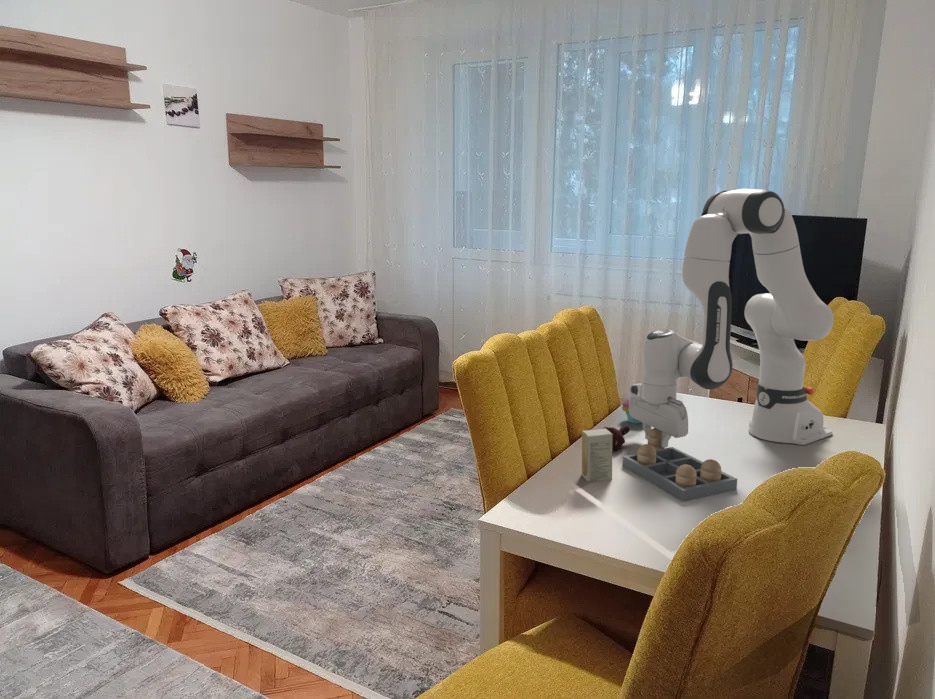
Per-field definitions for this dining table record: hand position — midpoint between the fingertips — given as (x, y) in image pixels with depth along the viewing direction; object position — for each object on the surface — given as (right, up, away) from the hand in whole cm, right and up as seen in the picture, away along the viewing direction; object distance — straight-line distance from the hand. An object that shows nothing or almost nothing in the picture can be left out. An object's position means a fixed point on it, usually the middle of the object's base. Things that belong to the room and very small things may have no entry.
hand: (656, 443), depth 177 cm
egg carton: (-1, -6, -19) cm, 20 cm away
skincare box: (-19, -7, -18) cm, 27 cm away
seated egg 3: (+5, -6, -24) cm, 25 cm away
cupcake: (+1, +3, +24) cm, 24 cm away
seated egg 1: (-6, -4, -14) cm, 16 cm away
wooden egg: (0, -2, 0) cm, 2 cm away
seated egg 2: (-1, -7, -27) cm, 28 cm away
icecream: (-12, -3, 0) cm, 13 cm away
